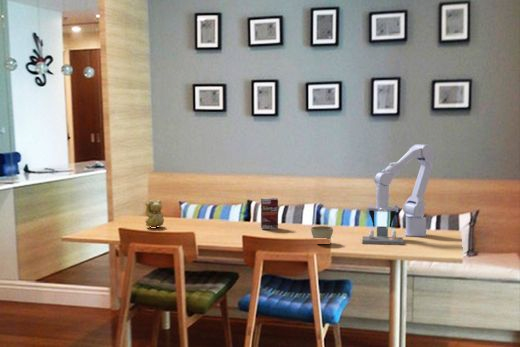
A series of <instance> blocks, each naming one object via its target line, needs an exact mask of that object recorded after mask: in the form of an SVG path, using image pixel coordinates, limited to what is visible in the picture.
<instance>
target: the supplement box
mask: <svg viewBox="0 0 520 347" xmlns="http://www.w3.org/2000/svg"><path fill="white" fill-rule="evenodd" d="M260 229H261V231H264V230H263V229H270V230H278V229H279V199H278V198H277V197H272V198H271V197H270V198H267V197H264V198H260Z"/></svg>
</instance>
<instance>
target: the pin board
mask: <svg viewBox="0 0 520 347" xmlns="http://www.w3.org/2000/svg"><path fill="white" fill-rule="evenodd" d="M368 232H369V233H368V235H369V236H362V240H361V241H362V242H361V243H362V244H363V245H365V244H366V245H371V244H372V245H394V246H395V245H398V246H403V245H404V238H403V237H397V232H396V230H392V231H391V236H388V237H377V236H375V232H374V230H373V229H369V231H368Z"/></svg>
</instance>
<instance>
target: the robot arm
mask: <svg viewBox="0 0 520 347" xmlns="http://www.w3.org/2000/svg"><path fill="white" fill-rule="evenodd" d="M434 155H435V149H434V148H433V146H432V145H431V144H419V143H415V144H414V145H412V146H411V147H409V149H408V151H407V152H406V153H405V154H404V155H403V156H402V157H400V159H399V160H397V161H396V162H394V161H393V162H390V163H389V164H388V166H387V167H385V169H384V168H383V169H382V170H381V172H377V173H376V175H375V176H374V178H373V182H374V183H375V187H376V190H375V193H376V196H375V197H376V198H375V199H376V202H375V205H376V206H366V212H368V214H369V216H370V219H371V221H372V222H371V223H372V226H373V227H374V228H375V226H376V225H375V212H384V213H385V212H389V217H390V218H389V228H392V224H393V220H394V219H395V217H396V214H397V213H398V212H399V207H397V206H396V207H395V206H394V207H393V206H390V204H389V200H390V194H389V191H390V185H391V183H392V180H393V179H394V178H395V177H397V176H398V175H399V174H400V172H402V168H403V167H405V166H406V165H407V164H409V162H411V161H412V160H414V159H415V160H417V161H418V162H419V164H420V168H419V170H418V175H417V177H416V180H415V184H414V187H413V189H412V193H411V195H410V196H409V197H408V198H407V200H406V201H405V203H404V204H403V207H402V210H403V213H404V214H405V231H404V236H405V237H407V236H408V237H426V236H427V218H426V217H425V216H423V215H424V214H425V211H426V209H425V206H426V202H425V200H424V197H425V193H426V190H427V188H428V187H427V186H428V183H429V180H430V177H431V173H432V170H433V168H434Z"/></svg>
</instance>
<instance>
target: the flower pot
mask: <svg viewBox="0 0 520 347" xmlns="http://www.w3.org/2000/svg"><path fill="white" fill-rule="evenodd" d="M310 231H311V235H312V238H313V239H314V238H327V239H330V240H331V238H332V235H333V231H334V227H332V226H328V225H316V226H312V227H311V228H310Z"/></svg>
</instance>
